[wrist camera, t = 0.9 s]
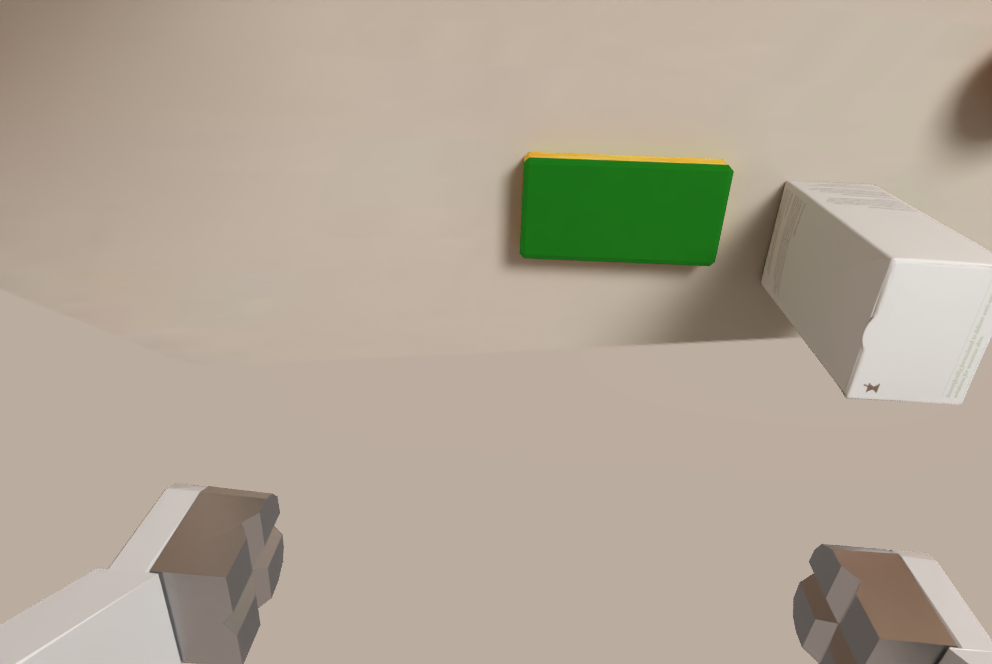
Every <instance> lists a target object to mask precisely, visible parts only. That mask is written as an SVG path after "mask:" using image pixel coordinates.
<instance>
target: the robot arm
mask: <svg viewBox="0 0 992 664" xmlns="http://www.w3.org/2000/svg"><path fill="white" fill-rule="evenodd" d="M279 514H280V510H279V504H278V498H277V496H275V495H274V494H270V493H262V492H253V491H244V490H236V489H228V488H219V487H211V486H208V487H205V486H196V485H188V484H179V483H174V484H173V485H171V486H170V487H168V488H167V489H165V490H164V492H163V493H162V495H161V496H160V497H159V499H158V500H157V502H156V503H155V504H154V506H153V507H152V508H151V510H150V511H149V513H148V514H147V515H146V517H145V518H144V520H143V521H142V522H141V524H140V525H139V526H138V528H137V529H136V531H135V532H134V533H133V535H132V536H131V538H130V539H129V540H128V542H127V543H126V544H125V546H124V547H123V549H122V550H121V551H120V553H119V554H118V555H117V557H116V558H115V560H114V561H113V562H112V564H111V565H110V567H109V568H108V569H104V568H96V569H95V570H93V571H91V572H90V573H88V574H86V575H84V576H83V577H81V578H79V579H78V580H76V581H74V582H72V583H71V584H69V585H67V586H66V587H64V588H62V589H60V590H59V591H57V592H55V593H53V594H52V595H50V596H48V597H47V598H45V599H43V600H41V601H40V602H38V603H36V604H34V605H33V606H31V607H29V608H28V609H26V610H24V611H23V612H21V613H19V614H17V615H16V616H14V617H12V618H10V619H9V620H7V621H5V622H3V623H2V624H0V664H181V663H196V664H244V662H245V659H246V657H247V655H248V652H249V650H250V648H251V645H252V643H253V641H254V638H255V636H256V634H257V631H258V628H259V627H260V619H259V612H258V608H259V607H260V606H262V605H263V604H264V603H265V602H267V601H268V600H269V599H271V598H272V595H273V593H274V590H275V588H276V585H277V582H278V580H279V576H280V571H281V567H282V563H283V549H284V545H283V535H282V533H281V532H280V531H279V530H278V529H277V528H276V527H275V526H274V525H275V522H276V520H277V518H278V516H279ZM809 563H810V565H811V567H812V570H813V572H814V574H812V575H810V576H809V577H807V578H806V579H805V580H803V581H801V582H800V583H799V585H798V588H797V591H796V593H795V596H794V601H793V618H794V624H795V629H796V633H797V635H798V638H799V640H800V643H801V646H802V648H803V649H804V650H805V651H806V652H807V653H809V654H810V655H811V656H812V657H813V658H814V659H815V660H816V661H817V662H818V664H992V640H991V639H990V637H989V636H988V634H987V633H986V632H985V630H984V629H983V627H982V626H981V624H980V623H979V622H978V620H977V619H976V617H975V616H974V614H973V613H972V612H971V610H970V609H969V607H968V606H967V604H966V603H965V601H964V600H963V599H962V597H961V596H960V594H959V593H958V591H957V590H956V589H955V587H954V586H953V585H952V583H951V582H950V580H949V579H948V577H947V576H946V574H945V573H944V571H943V570H942V569H941V567H940V566H939V564H938V563H937V561H936V560H935V559H934V558H932V557H931V556H929V555H928V554H927V553H925V552H913V551H912V552H911V551H899V550H885V549H876V548H864V547H851V546H839V545H826V544H821V545H820V546H819V547H818V548H816V549H815V550H814V552H813V554H812V556H811V558H810V561H809Z"/></svg>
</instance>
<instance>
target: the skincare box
mask: <svg viewBox="0 0 992 664" xmlns="http://www.w3.org/2000/svg"><path fill="white" fill-rule="evenodd" d="M761 285H762V286H763V287H764V289H765V290H766V291H767V293H768V294H769V295H770V297H771V298H772V299H773V300H774V302H775V303H776V304H777V305H778V307H779V308H780V309H781V311H782V312H783V313H784V315H785V316H786V317H787V319H788V320H789V321H790V323H791V324H792V325H793V327H794V328H795V329H796V331H797V332H798V333H799V334H800V336H801V337H802V338H803V340H804V341H805V342H806V344H807V345H808V346H809V348H810V349H811V350H812V352H813V353H814V354H815V356H816V357H817V358H818V360H819V361H820V362H821V364H822V365H823V366H824V367H825V369H826V370H827V371H828V373H829V374H830V375H831V377H832V378H833V379H834V381H835V382H836V383H837V385H838V386H839V388H840V389H841V391H842V392H843V394H844V396H845V397H846V398H847V399H868V400H889V401H911V402H927V403H942V404H962V401H963V399H964V397H965V395H966V392H967V390H968V387H969V385H970V383H971V381H972V379H973V376H974V374H975V371H976V369H977V367H978V365H979V363H980V361H981V358H982V356H983V354H984V352H985V349H986V347H987V345H988V343H989V341H990V338H991V336H992V252H990V251H988V250H987V249H985V248H983V247H981V246H980V245H978V244H976V243H975V242H973V241H971V240H969V239H968V238H966V237H964V236H962V235H961V234H959V233H957V232H955V231H954V230H952V229H950V228H949V227H947V226H945V225H943V224H942V223H940V222H938V221H936V220H935V219H933V218H931V217H929V216H928V215H926V214H924V213H923V212H921V211H919V210H917V209H916V208H914V207H912V206H910V205H909V204H907V203H905V202H904V201H902V200H900V199H898V198H896V197H895V196H893V195H891V194H889V193H888V192H886V191H884V190H883V189H881V188H879V187H878V186H876V185H868V184H849V183H829V182H805V181H786V184H785V187H784V191H783V195H782V199H781V203H780V207H779V211H778V215H777V219H776V223H775V227H774V231H773V235H772V239H771V243H770V247H769V251H768V255H767V259H766V263H765V267H764V271H763V275H762V280H761Z"/></svg>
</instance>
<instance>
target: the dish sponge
mask: <svg viewBox="0 0 992 664" xmlns="http://www.w3.org/2000/svg"><path fill="white" fill-rule="evenodd" d="M733 172H734V171H733V170H732V169H731V167H730V166H729V165H728V164H727V163H726V162H725V161H724V160H723V159H701V158H675V157H648V156H622V155H595V154H569V153H542V152H529V153H528V154H527V155H526V156H525V157H524V172H523V193H522V214H521V235H520V254H521V255H522V256H523V257H524V258H533V259H556V260H580V261H604V262H627V263H651V264H675V265H698V266H710V265H711V264H713V263H714V262H715V259H716V254H717V250H718V245H719V240H720V235H721V230H722V225H723V220H724V216H725V211H726V206H727V201H728V196H729V191H730V186H731V181H732V177H733Z"/></svg>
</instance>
